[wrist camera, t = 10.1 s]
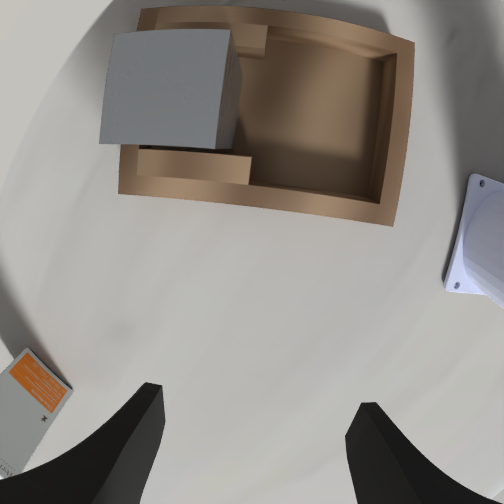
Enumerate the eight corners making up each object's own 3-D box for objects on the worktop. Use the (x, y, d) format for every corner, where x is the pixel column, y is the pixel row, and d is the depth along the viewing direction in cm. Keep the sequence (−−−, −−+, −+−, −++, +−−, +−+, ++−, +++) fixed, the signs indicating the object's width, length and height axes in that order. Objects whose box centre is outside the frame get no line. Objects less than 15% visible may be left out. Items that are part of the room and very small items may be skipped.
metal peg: (242, 76, 15) (230, 29, 8) (234, 148, 16) (214, 149, 9) (169, 73, 15) (114, 34, 8) (160, 143, 16) (99, 143, 9)
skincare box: (75, 390, 23) (16, 489, 11) (60, 405, 24) (7, 492, 12) (26, 343, 21) (-50, 429, 10) (15, 363, 22) (-50, 441, 11)
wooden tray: (397, 53, 14) (414, 42, 12) (377, 216, 17) (393, 226, 15) (155, 23, 14) (141, 9, 12) (135, 187, 17) (118, 193, 15)
